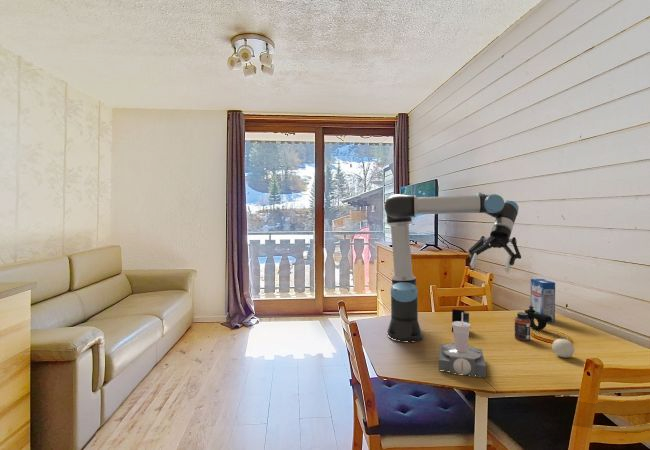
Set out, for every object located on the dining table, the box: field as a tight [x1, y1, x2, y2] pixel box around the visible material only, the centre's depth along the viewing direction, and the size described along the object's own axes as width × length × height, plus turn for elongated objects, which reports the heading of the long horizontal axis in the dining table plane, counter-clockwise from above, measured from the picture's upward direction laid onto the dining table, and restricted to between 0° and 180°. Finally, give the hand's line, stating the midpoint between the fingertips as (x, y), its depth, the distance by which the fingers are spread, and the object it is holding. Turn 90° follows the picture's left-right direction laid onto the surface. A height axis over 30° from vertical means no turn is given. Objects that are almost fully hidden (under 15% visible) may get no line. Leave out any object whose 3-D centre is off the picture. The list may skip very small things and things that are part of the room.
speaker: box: [451, 308, 470, 333], centre depth 156 cm, size 8×6×10 cm
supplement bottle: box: [514, 311, 531, 342], centre depth 145 cm, size 6×6×11 cm
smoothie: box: [451, 312, 472, 352], centre depth 121 cm, size 6×6×14 cm
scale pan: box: [442, 342, 481, 360], centre depth 121 cm, size 13×13×1 cm
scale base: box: [438, 343, 487, 378], centre depth 121 cm, size 15×16×6 cm
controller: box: [524, 305, 552, 330], centre depth 156 cm, size 4×12×10 cm, turn 18°
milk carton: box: [530, 278, 556, 323], centre depth 170 cm, size 10×6×20 cm, turn 179°
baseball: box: [551, 338, 575, 359], centre depth 127 cm, size 7×7×7 cm
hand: (488, 268), depth 135 cm, fingers open, 13 cm apart
